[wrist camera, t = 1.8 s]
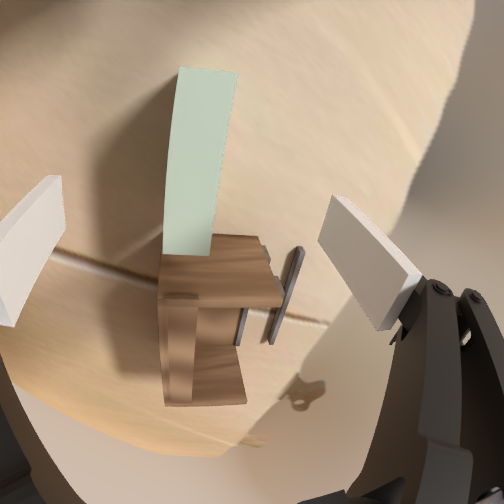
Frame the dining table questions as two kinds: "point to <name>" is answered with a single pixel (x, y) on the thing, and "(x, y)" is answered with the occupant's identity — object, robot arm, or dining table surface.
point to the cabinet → (214, 316)
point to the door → (196, 158)
